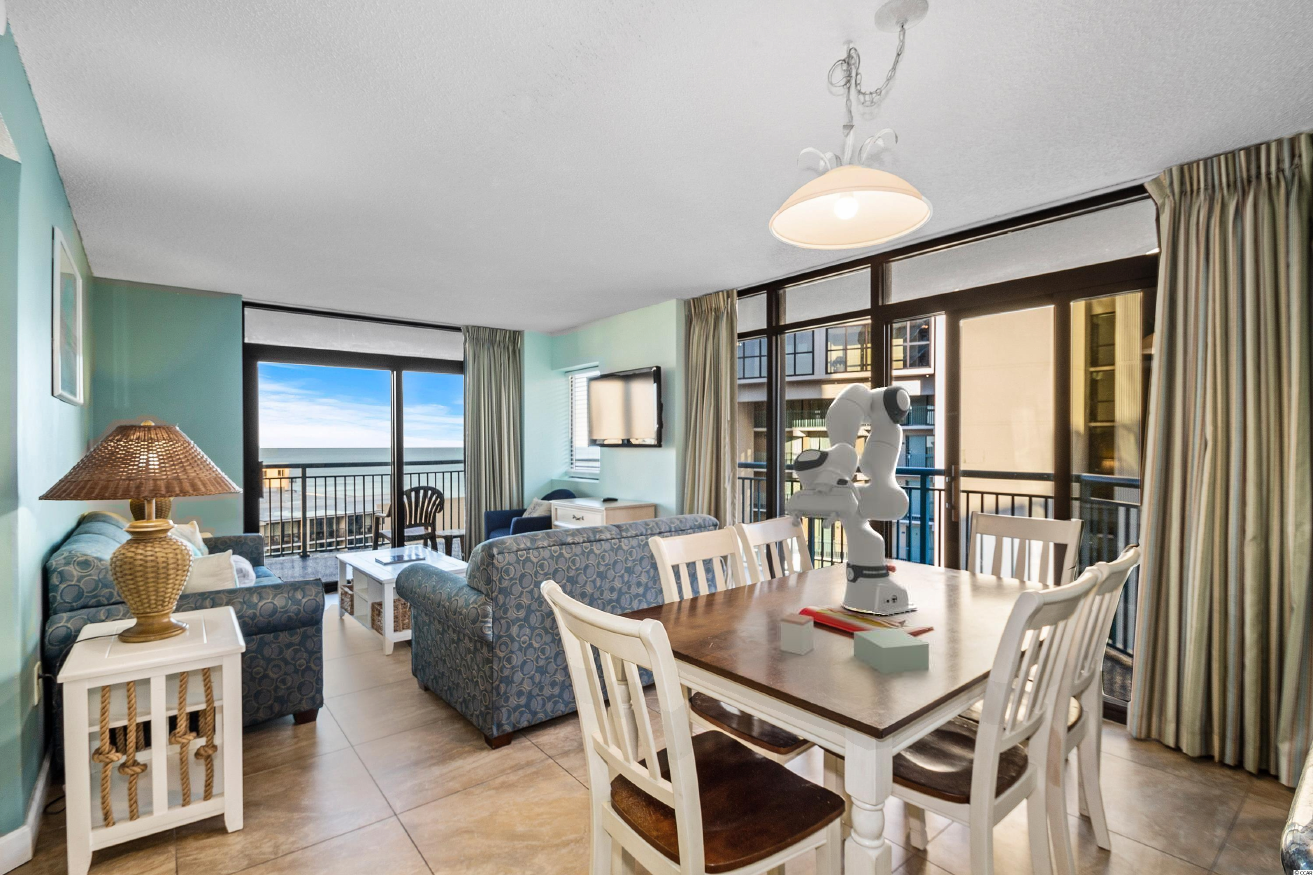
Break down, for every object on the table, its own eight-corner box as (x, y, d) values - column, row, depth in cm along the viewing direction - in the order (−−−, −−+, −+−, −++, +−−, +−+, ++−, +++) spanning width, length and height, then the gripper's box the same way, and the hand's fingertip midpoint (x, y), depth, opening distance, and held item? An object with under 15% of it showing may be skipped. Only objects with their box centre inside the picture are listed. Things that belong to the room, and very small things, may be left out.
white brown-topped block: (791, 643, 161) (791, 612, 161) (813, 648, 157) (813, 617, 157) (780, 649, 156) (780, 618, 156) (803, 655, 152) (803, 622, 152)
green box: (896, 652, 155) (896, 628, 155) (928, 669, 144) (928, 643, 144) (853, 656, 152) (853, 631, 152) (883, 674, 141) (883, 647, 141)
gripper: (792, 481, 179) (772, 517, 171) (857, 481, 164) (838, 519, 156) (801, 497, 181) (782, 532, 174) (866, 497, 166) (848, 536, 159)
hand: (809, 526), depth 165 cm, fingers open, 8 cm apart
